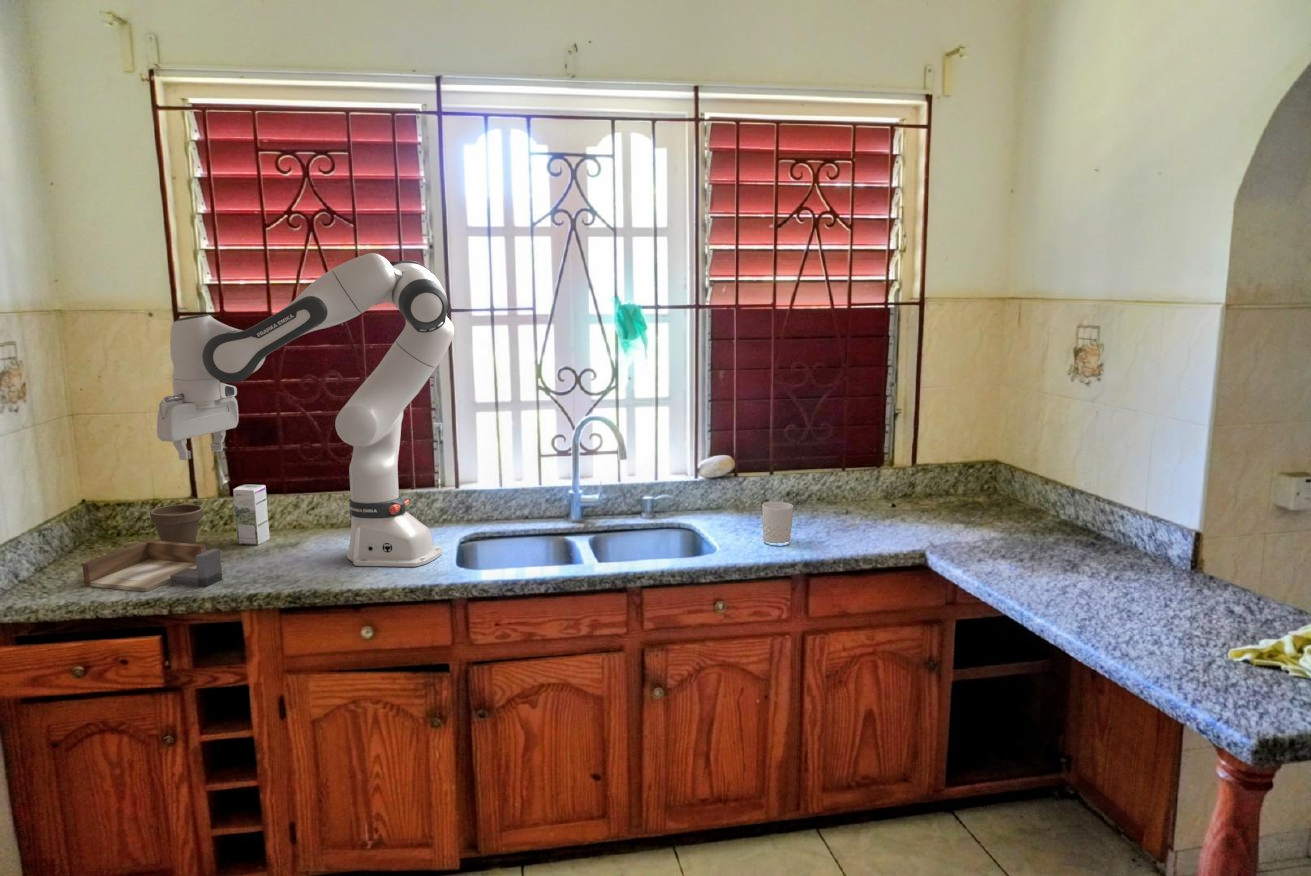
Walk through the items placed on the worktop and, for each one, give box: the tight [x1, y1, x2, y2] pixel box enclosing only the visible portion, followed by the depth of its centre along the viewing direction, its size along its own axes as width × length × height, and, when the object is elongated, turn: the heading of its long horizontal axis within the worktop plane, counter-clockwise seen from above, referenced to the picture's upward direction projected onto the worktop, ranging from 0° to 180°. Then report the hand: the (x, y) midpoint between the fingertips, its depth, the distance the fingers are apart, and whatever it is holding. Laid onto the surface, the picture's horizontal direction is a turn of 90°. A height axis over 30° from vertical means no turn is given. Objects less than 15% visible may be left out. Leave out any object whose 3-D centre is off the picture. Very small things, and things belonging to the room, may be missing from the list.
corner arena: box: [81, 539, 207, 593], centre depth 195 cm, size 16×18×5 cm
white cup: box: [761, 501, 794, 543], centre depth 222 cm, size 8×8×10 cm
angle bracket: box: [170, 548, 223, 588], centre depth 191 cm, size 9×5×7 cm, turn 78°
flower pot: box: [149, 503, 204, 544], centre depth 214 cm, size 12×11×10 cm
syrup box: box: [232, 484, 270, 546], centre depth 220 cm, size 6×6×14 cm
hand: (201, 455), depth 187 cm, fingers open, 8 cm apart
